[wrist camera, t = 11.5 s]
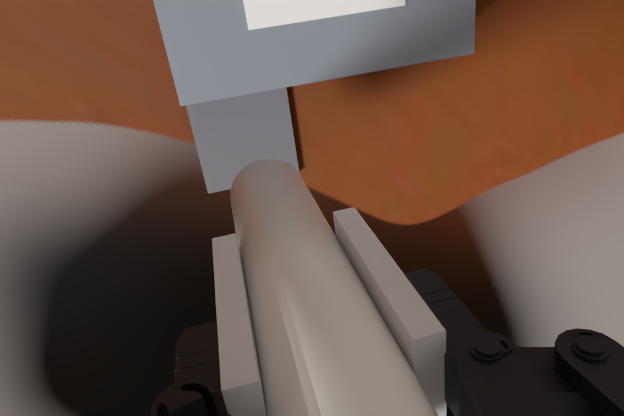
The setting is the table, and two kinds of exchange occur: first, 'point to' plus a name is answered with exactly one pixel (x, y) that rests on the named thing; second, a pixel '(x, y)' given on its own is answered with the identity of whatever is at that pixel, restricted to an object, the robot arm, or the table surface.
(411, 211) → the table surface
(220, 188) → the pad
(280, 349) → the stylus
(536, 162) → the table surface
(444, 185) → the table surface
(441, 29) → the panel
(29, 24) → the table surface
